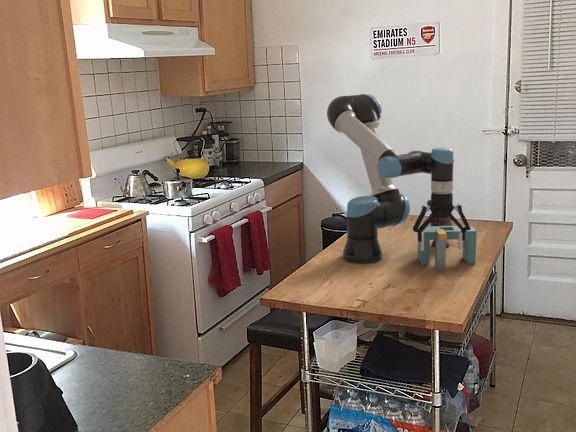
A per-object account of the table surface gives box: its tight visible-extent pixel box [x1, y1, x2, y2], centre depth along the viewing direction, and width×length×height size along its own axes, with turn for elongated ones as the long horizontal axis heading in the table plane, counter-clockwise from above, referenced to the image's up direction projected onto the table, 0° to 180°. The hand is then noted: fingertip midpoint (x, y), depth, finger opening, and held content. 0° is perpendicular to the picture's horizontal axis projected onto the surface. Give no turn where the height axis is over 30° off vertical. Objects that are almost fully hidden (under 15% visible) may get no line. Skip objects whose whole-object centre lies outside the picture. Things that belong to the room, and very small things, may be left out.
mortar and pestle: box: [426, 199, 454, 248], centre depth 266 cm, size 12×9×20 cm
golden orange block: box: [434, 229, 447, 271], centre depth 240 cm, size 3×7×14 cm, turn 178°
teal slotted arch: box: [417, 224, 478, 266], centre depth 249 cm, size 20×8×12 cm, turn 88°
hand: (441, 249), depth 240 cm, fingers open, 13 cm apart
